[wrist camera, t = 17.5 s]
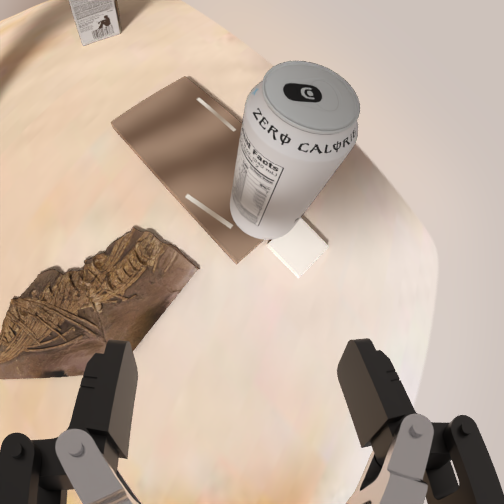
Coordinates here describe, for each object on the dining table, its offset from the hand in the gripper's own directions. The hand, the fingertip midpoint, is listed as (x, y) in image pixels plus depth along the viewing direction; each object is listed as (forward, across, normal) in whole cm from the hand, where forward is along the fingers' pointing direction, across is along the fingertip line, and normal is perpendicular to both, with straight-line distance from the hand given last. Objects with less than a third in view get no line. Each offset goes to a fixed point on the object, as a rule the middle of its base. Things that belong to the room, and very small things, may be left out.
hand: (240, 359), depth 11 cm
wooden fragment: (+12, +14, +10) cm, 21 cm away
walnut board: (+23, +2, -2) cm, 23 cm away
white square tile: (+17, -7, +5) cm, 19 cm away
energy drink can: (+18, -4, +2) cm, 18 cm away
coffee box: (+42, +21, -19) cm, 51 cm away
